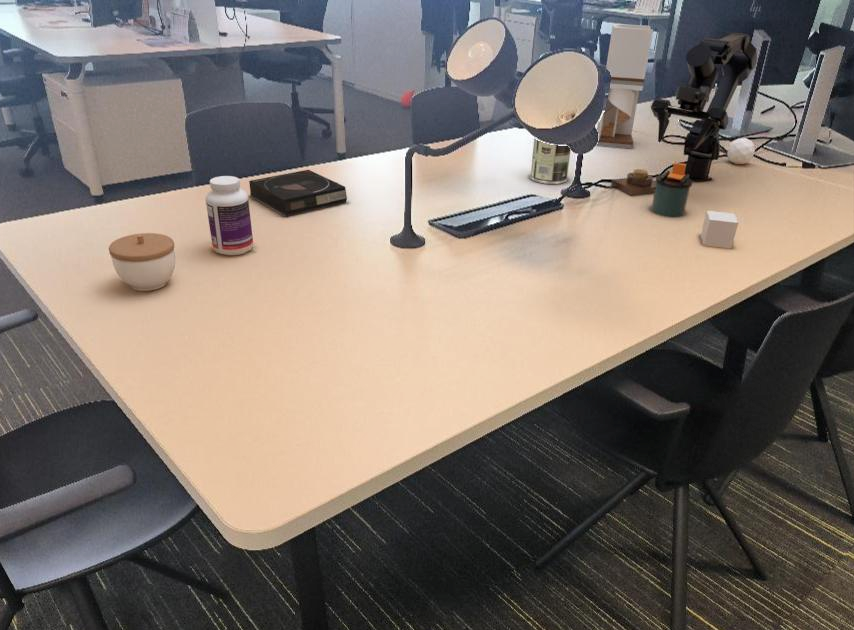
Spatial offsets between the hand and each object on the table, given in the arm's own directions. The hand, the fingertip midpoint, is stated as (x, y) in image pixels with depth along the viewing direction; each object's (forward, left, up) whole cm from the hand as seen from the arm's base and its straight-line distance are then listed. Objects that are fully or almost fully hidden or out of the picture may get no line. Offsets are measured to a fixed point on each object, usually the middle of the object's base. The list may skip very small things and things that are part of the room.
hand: (676, 145), depth 177 cm
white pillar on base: (-20, -50, -14) cm, 56 cm away
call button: (+3, -8, -11) cm, 14 cm away
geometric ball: (-44, -19, -14) cm, 50 cm away
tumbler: (+7, +9, -14) cm, 18 cm away
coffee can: (+22, -23, -14) cm, 35 cm away
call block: (+3, -8, -14) cm, 16 cm away
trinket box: (+128, +10, -14) cm, 129 cm away
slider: (+6, +8, -5) cm, 11 cm away
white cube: (+10, +29, -14) cm, 33 cm away
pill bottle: (+111, -1, -14) cm, 112 cm away
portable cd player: (+91, -26, -14) cm, 96 cm away
